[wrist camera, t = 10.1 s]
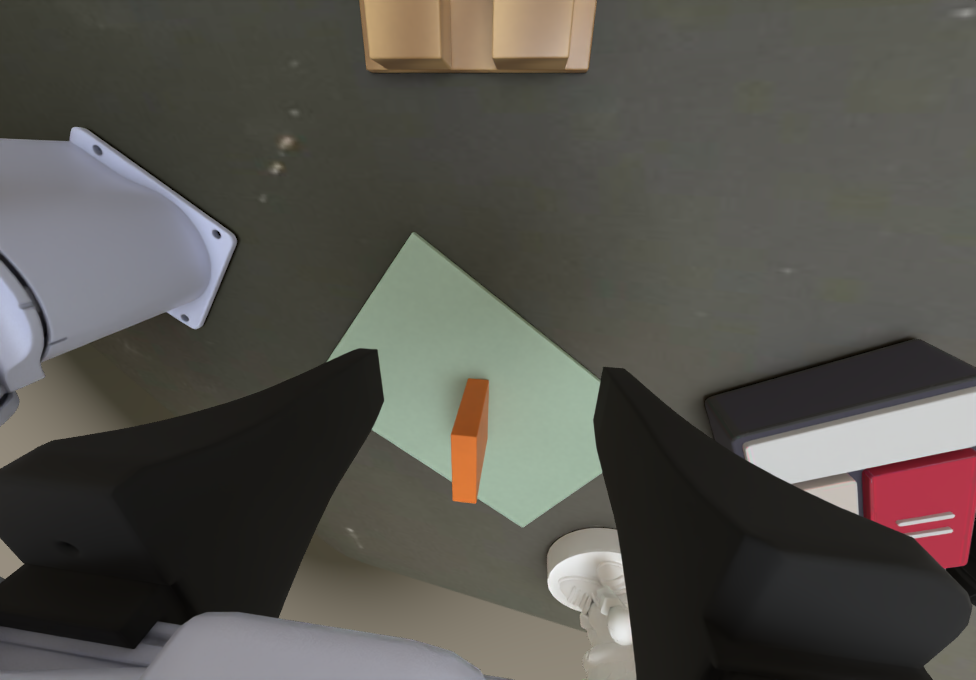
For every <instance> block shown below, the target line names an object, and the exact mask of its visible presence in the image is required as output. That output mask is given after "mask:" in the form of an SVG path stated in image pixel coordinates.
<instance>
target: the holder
mask: <svg viewBox="0 0 976 680" xmlns="http://www.w3.org/2000/svg"><path fill="white" fill-rule="evenodd" d="M359 3H360V12H361V22H362V31H363V41H364V50H365V60H366V69H367V70H368V71H370V72H372V73H586V72H587V71H588V69H589V62H590V54H591V45H592V37H593V29H594V20H595V12H596V4H597V0H359Z"/></svg>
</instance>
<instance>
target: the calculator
mask: <svg viewBox="0 0 976 680" xmlns="http://www.w3.org/2000/svg"><path fill="white" fill-rule="evenodd" d="M705 406H706V410H707V414H708V417H709V421H710V425H711V428H712V432H713V435H714V439H715V441H716V442H718V443H719V444H721V445H722V446H724V447H726V448H727V449H729V450H730V451H732V452H733V453H735V454H737V455H738V456H740V457H742V458H744V459H745V460H747V461H749V462H751V463H752V464H754V465H756V466H758V467H760V468H761V469H763V470H765V471H767V472H769V473H771V474H772V475H774V476H776V477H778V478H780V479H782V480H784V481H786V482H788V483H790V484H792V485H794V486H796V487H798V488H800V489H802V490H804V491H806V492H808V493H810V494H813V495H815V496H817V497H819V498H821V499H823V500H825V501H827V502H830V503H832V504H834V505H836V506H838V507H841V508H843V509H845V510H848V511H850V512H853V513H855V514H857V515H860V516H862V517H865V518H867V519H869V520H872V521H874V522H877V523H879V524H882V525H884V526H886V527H889V528H891V529H894V530H896V531H898V532H901V533H903V534H906V535H908V536H911V537H913V538H914V539H915V540H916V541H917V542H918V543H919V544H920V545H921V546H922V547H923V548H924V549H925V550H926V551H927V552H928V553H929V554H930V555H931V556H932V557H933V558H934V559H935V560H936V561H937V562H938V563H939V564H940V565H941V566H942V567H943V568H952V567H959V566H964V565H966V564H967V562H968V557H969V551H970V544H971V538H972V532H973V526H974V519H975V513H976V367H974V366H972V365H970V364H968V363H966V362H964V361H962V360H960V359H958V358H956V357H954V356H952V355H950V354H948V353H946V352H944V351H942V350H940V349H938V348H936V347H934V346H932V345H930V344H928V343H926V342H924V341H922V340H919V339H914V340H910V341H906V342H902V343H899V344H895V345H892V346H888V347H885V348H881V349H878V350H874V351H871V352H867V353H864V354H860V355H857V356H853V357H849V358H846V359H842V360H839V361H835V362H832V363H828V364H825V365H821V366H818V367H814V368H811V369H807V370H803V371H800V372H796V373H793V374H789V375H786V376H782V377H779V378H775V379H772V380H768V381H765V382H761V383H758V384H754V385H750V386H747V387H743V388H740V389H736V390H733V391H729V392H726V393H722V394H719V395H715V396H712V397H709V398H708V399H707V400H706V401H705Z"/></svg>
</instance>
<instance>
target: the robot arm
mask: <svg viewBox="0 0 976 680" xmlns="http://www.w3.org/2000/svg"><path fill="white" fill-rule="evenodd" d="M101 150H102V152H101ZM217 231H219V232H220V234H221V237H220V236H219V235H218V233H217ZM236 245H237V239H236V237H235V235H234V234H233V233H232V232H231V231H229V230H228V229H227V228H225V227H224V226H222V225H221V224H219V223H218V222H217V221H215V220H214V219H212V218H211V217H210V216H208V215H207V214H205V213H204V212H203V211H201V210H200V209H198V208H197V207H196V206H194V205H193V204H191V203H190V202H189V201H187V200H186V199H184V198H183V197H182V196H180V195H179V194H177V193H176V192H175V191H173V190H172V189H170V188H169V187H168V186H166V185H165V184H163V183H162V182H161V181H159V180H158V179H156V178H155V177H154V176H152V175H151V174H149V173H148V172H146V171H145V170H144V169H142V168H141V167H139V166H138V165H137V164H135V163H134V162H132V161H131V160H130V159H128V158H127V157H125V156H124V155H123V154H121V153H120V152H118V151H117V150H116V149H114V148H113V147H111V146H110V145H109V144H107V143H106V142H104V141H103V140H102V139H100V138H99V137H97V136H96V135H95V134H93V133H92V132H90V131H89V130H88V129H86V128H82V127H73V128H72V129H71V133H70V140H69V141H51V140H28V139H5V138H0V426H1V425H3V424H4V423H5V422H6V421H7V420H8V419H9V418H10V417H11V416H12V415H13V414H14V413H15V411H16V410H17V408H18V405H19V397H18V395H17V393H16V390H18V389H20V388H23V387H25V386H27V385H29V384H32V383H34V382H36V381H39V380H41V379H43V378H45V374H44V372H43V370H42V367H41V362H44V361H46V360H48V359H51V358H54V357H56V356H59V355H61V354H63V353H66V352H68V351H71V350H73V349H76V348H78V347H81V346H83V345H86V344H88V343H91V342H93V341H96V340H98V339H101V338H103V337H105V336H108V335H110V334H113V333H115V332H118V331H120V330H123V329H125V328H128V327H130V326H133V325H135V324H138V323H140V322H142V321H145V320H147V319H150V318H152V317H155V316H157V315H160V314H162V313H165V312H167V313H169V314H170V315H172V316H173V317H175V318H176V319H178V320H180V321H181V322H183V323H184V324H186V325H187V326H189V327H191V328H193V329H198V328H200V327H202V326H203V324H204V322H205V320H206V317H207V315H208V312H209V310H210V307H211V305H212V303H213V300H214V298H215V295H216V293H217V291H218V288H219V286H220V283H221V281H222V278H223V276H224V274H225V271H226V269H227V266H228V264H229V261H230V259H231V257H232V254H233V252H234V249H235V247H236ZM383 403H384V394H383V387H382V379H381V372H380V364H379V356H378V349H366V348H358V349H355V350H353V351H350V352H348V353H345V354H343V355H341V356H339V357H337V358H334V359H332V360H330V361H328V362H326V363H324V364H322V365H320V366H318V367H315V368H313V369H311V370H309V371H307V372H305V373H303V374H300V375H298V376H296V377H293V378H291V379H289V380H286V381H284V382H282V383H280V384H277V385H275V386H273V387H270V388H268V389H265V390H262V391H260V392H257V393H255V394H252V395H249V396H246V397H243V398H240V399H237V400H234V401H231V402H228V403H225V404H222V405H218V406H215V407H211V408H208V409H204V410H201V411H197V412H194V413H190V414H187V415H183V416H179V417H175V418H171V419H167V420H162V421H159V422H154V423H149V424H144V425H139V426H135V427H130V428H124V429H119V430H114V431H108V432H102V433H96V434H90V435H85V436H78V437H72V438H66V439H60V440H53V441H50V442H48V443H46V444H44V445H41V446H40V447H37V448H36V449H34V450H32V451H31V452H29V453H27V454H25V455H23V456H22V457H20V458H19V459H17V460H15V461H13V462H11V463H10V464H8V465H6V466H4V467H3V468H1V469H0V538H1V539H2V540H3V541H4V543H5V544H6V545H7V546H8V547H9V548H10V549H11V550H12V551H13V552H14V553H15V555H16V556H17V557H18V558H19V559H20V560H21V561H22V562H23V563H25V564H24V565H23V566H21V567H20V568H19V569H18V570H17V571H15V572H14V573H12V574H11V575H10V576H9V577H7V578H6V579H4V578H2V577H0V680H513V679H507V678H501V677H495V676H489V675H483V674H482V673H481V671H480V669H478V668H477V667H475V666H474V665H472V664H471V663H469V662H468V661H466V660H465V659H463V658H462V657H460V656H459V655H457V654H456V653H454V652H453V651H450V650H447V649H444V648H440V647H436V646H433V645H430V644H427V643H423V642H420V641H416V640H413V639H407V638H400V637H394V636H388V635H381V634H375V633H369V632H362V631H355V630H350V629H343V628H336V627H330V626H324V625H318V624H311V623H305V622H299V621H292V620H286V619H280V618H279V615H280V612H281V610H282V607H283V605H284V602H285V600H286V597H287V595H288V592H289V590H290V588H291V585H292V582H293V580H294V578H295V575H296V573H297V571H298V568H299V566H300V563H301V561H302V559H303V556H304V554H305V552H306V550H307V548H308V545H309V543H310V541H311V539H312V536H313V534H314V532H315V530H316V527H317V525H318V523H319V521H320V519H321V517H322V515H323V513H324V511H325V509H326V507H327V505H328V502H329V500H330V498H331V496H332V495H333V493H334V491H335V489H336V487H337V486H338V484H339V482H340V480H341V479H342V477H343V476H344V474H345V472H346V471H347V469H348V468H349V466H350V464H351V463H352V461H353V459H354V458H355V456H356V455H357V453H358V451H359V450H360V448H361V446H362V445H363V443H364V442H365V440H366V438H367V437H368V435H369V433H370V432H371V430H372V428H373V426H374V424H375V422H376V420H377V418H378V415H379V413H380V410H381V408H382V405H383ZM593 424H594V433H595V441H596V449H597V453H598V457H599V461H600V465H601V469H602V473H603V476H604V480H605V484H606V488H607V491H608V495H609V499H610V503H611V507H612V510H613V514H614V519H615V523H616V528H617V533H618V539H619V546H620V552H621V559H622V565H623V572H624V580H625V587H626V594H627V601H628V609H629V617H630V626H631V634H632V642H633V651H634V660H635V669H636V679H637V680H933V679H932V678H931V677H930V675H929V674H928V673H927V671H926V670H925V669H924V668H923V666H924V665H925V664H926V663H928V662H929V661H930V660H931V659H932V658H933V657H935V656H936V655H937V654H938V653H939V652H940V651H942V650H943V649H944V648H945V647H946V646H947V645H949V644H950V643H951V642H952V641H953V640H954V639H956V638H957V637H958V636H959V635H960V633H961V632H962V631H963V630H964V629H965V627H966V626H967V625H968V622H969V619H970V615H971V611H972V603H971V601H970V598H969V595H968V592H967V591H966V590H965V589H964V588H963V587H962V586H961V585H960V584H959V583H958V582H957V581H956V580H955V579H954V578H953V577H952V576H951V575H950V574H949V573H948V572H947V571H946V570H945V569H944V568H943V567H942V566H941V565H940V564H939V563H938V562H937V561H936V560H935V559H934V558H933V557H932V556H931V555H930V554H929V553H928V552H927V551H926V550H925V549H924V548H923V547H922V546H921V545H920V544H919V543H918V542H917V541H916V540H915V539H914V538H913V537H911V536H908V535H906V534H903V533H901V532H898V531H896V530H894V529H891V528H889V527H886V526H884V525H882V524H879V523H877V522H874V521H872V520H869V519H867V518H865V517H862V516H860V515H857V514H855V513H853V512H850V511H848V510H845V509H843V508H841V507H838V506H836V505H834V504H832V503H830V502H827V501H825V500H823V499H821V498H819V497H817V496H815V495H813V494H810V493H808V492H806V491H804V490H802V489H800V488H798V487H796V486H794V485H792V484H790V483H788V482H786V481H784V480H782V479H780V478H778V477H776V476H774V475H772V474H771V473H769V472H767V471H765V470H763V469H761V468H760V467H758V466H756V465H754V464H752V463H751V462H749V461H747V460H745V459H744V458H742V457H740V456H738V455H737V454H735V453H733V452H732V451H730V450H729V449H727V448H726V447H724V446H722V445H721V444H719V443H718V442H716V441H715V440H713V439H712V438H710V437H708V436H707V435H706V434H704V433H703V432H701V431H700V430H698V429H697V428H696V427H694V426H693V425H692V424H690V423H689V422H688V421H686V420H685V419H684V418H682V417H681V416H680V415H678V414H677V413H676V412H675V411H673V410H672V409H671V408H670V407H668V406H667V405H666V404H665V403H664V402H662V401H661V400H660V399H659V398H658V397H656V396H655V395H654V394H653V393H652V392H651V391H650V390H648V389H647V388H646V387H645V386H644V385H643V384H642V383H641V382H639V381H638V380H637V379H636V378H635V377H634V376H633V375H631V374H630V373H629V372H628V371H626V370H625V369H623V368H611V367H603V371H602V376H601V382H600V387H599V392H598V397H597V402H596V408H595V413H594V418H593Z"/></svg>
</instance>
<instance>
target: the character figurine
mask: <svg viewBox="0 0 976 680" xmlns="http://www.w3.org/2000/svg"><path fill="white" fill-rule="evenodd" d="M547 576H548V587H549V590H550V591H551V593H552V595H553V596H554V597H555V598H556V599H557V600H558V601H559V602H560V603H562V604H564V605H566V606H568V607H569V608H571V609H574V610H577V611H580V612H582V613H581V614H580V623H581V627H582V628H584V629H586V630H587V637H588V639H589V641H590V643H591V645H592V647H593V648H591V649H589V650H588V651H587V652H586V653H585V655H584V657H583V661H582V662H583V663H582V664H583V667H584V669H585V671H586V672H587V679H582V680H637V679H636V669H635V660H634V651H633V642H632V634H631V626H630V617H629V609H628V601H627V594H626V587H625V580H624V572H623V565H622V559H621V552H620V546H619V539H618V533H617V530H615V529H609V528H588V529H582V530H577V531H574V532H571V533H569V534H566V535H564V536H563V537H561V538H559V539H558V540H557V541H556V542H555V543H553V545H552V546H551V547H550V549H549V551H548V554H547Z"/></svg>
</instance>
